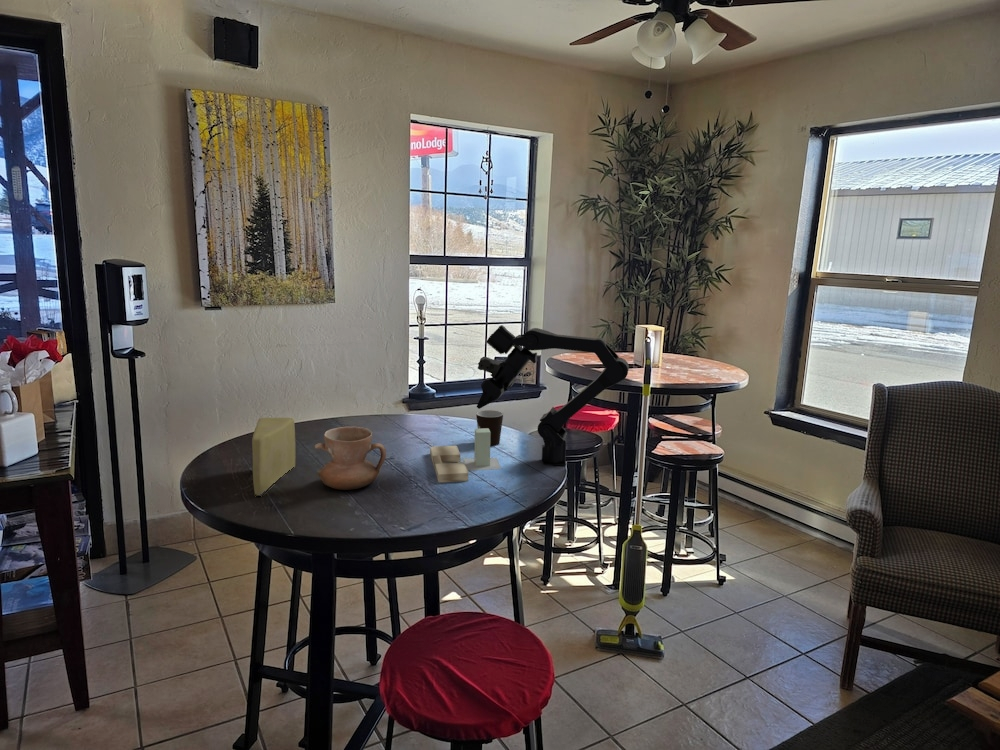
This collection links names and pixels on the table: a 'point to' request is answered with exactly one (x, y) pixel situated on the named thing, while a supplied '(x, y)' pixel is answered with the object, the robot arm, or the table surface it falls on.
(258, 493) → the cheese
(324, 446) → the ceramic jug
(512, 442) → the table surface
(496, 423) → the coffee mug
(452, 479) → the block
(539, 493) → the table surface
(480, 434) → the sage block
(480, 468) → the mat
